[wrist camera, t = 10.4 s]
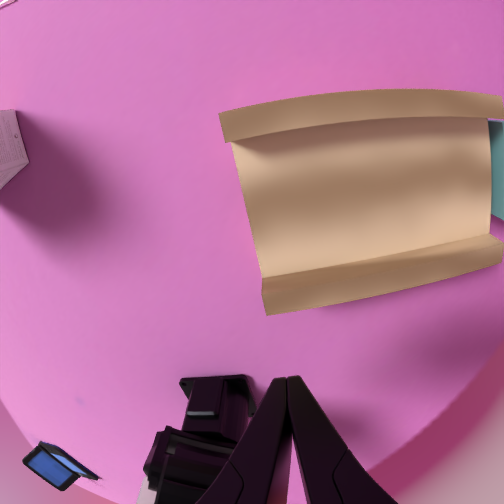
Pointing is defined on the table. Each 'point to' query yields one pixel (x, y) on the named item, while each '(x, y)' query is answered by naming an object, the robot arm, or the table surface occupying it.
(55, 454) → the handheld game console
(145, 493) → the cylinder vase
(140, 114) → the table surface
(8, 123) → the small box
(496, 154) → the cover plate
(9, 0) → the phone case
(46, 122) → the table surface
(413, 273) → the tan curved flanged bracket
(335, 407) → the table surface
